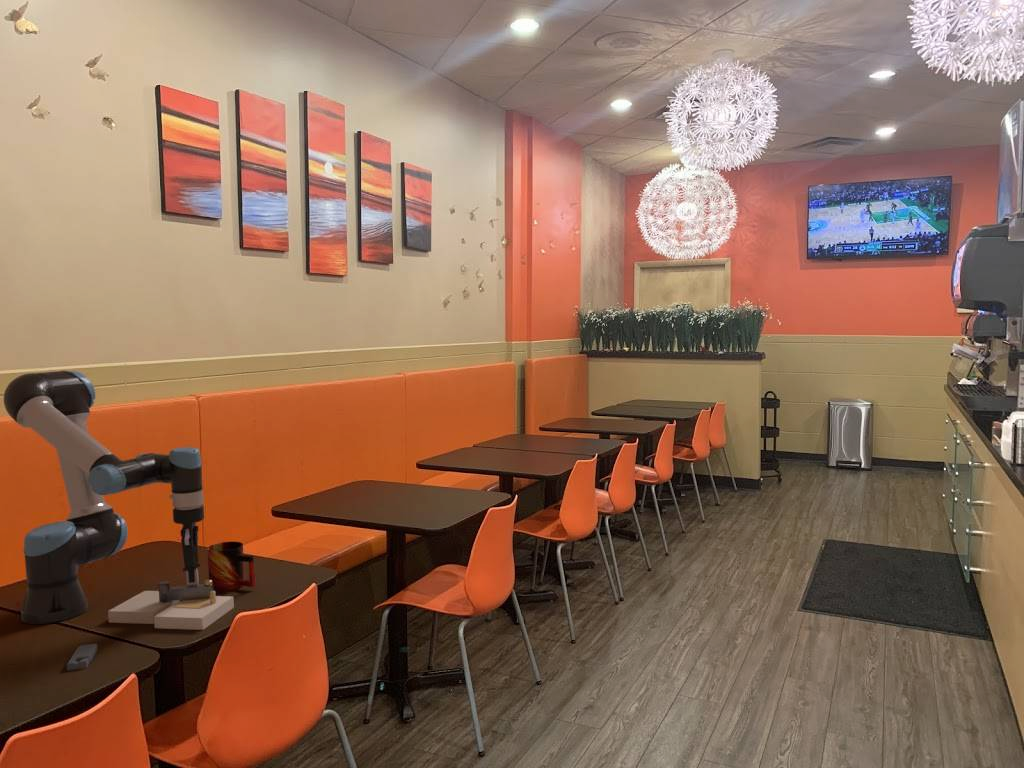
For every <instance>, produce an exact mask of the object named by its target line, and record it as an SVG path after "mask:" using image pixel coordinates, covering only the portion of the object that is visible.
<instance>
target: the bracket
mask: <svg viewBox="0 0 1024 768" xmlns="http://www.w3.org/2000/svg"><path fill="white" fill-rule="evenodd" d="M97 651H98V643H90V644H84V645H83V644H82V645H78V646H77V648H76V650H75V651H74V653H73V654H72V656H71V657H70V659H69V660H68V662H67V664H66V671H73V670H74V671H76V670H82V669H87V668H88V666H89V665H90V663H91V661H92V660H93V658H94V656H95V655H96V653H97Z"/></svg>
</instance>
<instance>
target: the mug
mask: <svg viewBox="0 0 1024 768" xmlns="http://www.w3.org/2000/svg"><path fill="white" fill-rule="evenodd" d="M206 549H207V551H206V553H207V565H208V566H207V569H208V579H211V580H212V583H213V586H214V591H215V593H218V594H220V593H221V594H222V593H229V592H235V591H238V590H240V588H241V589H242V587H243V588H244V587H248V588H249V587H250V588H254V587H256V577H255V576H256V575H255V564H254V562H255V561H254V560H255V559H254V555H249V554H244V543H242V542H241V541H223V542H217V543H214V544H210V545H209V546H207V548H206ZM244 562H246V563H248V572H249V573H248V574H249V575H248V576H249V579H245V576H246V574H245V563H244Z"/></svg>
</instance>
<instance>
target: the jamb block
mask: <svg viewBox="0 0 1024 768" xmlns="http://www.w3.org/2000/svg"><path fill="white" fill-rule="evenodd" d="M178 601H180V600H174V601H167V602H159V590H144V591H142V592H140V593H139V594H136V595H134V596H132V597H131V598H129V599H128V600H125V601H123V602H122V603H120V604H118V605H116V606H114V607H113V608H111V609H109V610H108V611H107V615H108V623H112V624H113V623H117V624H145V625H147V624H148V625H155V624H154V616H156V615H157V614H159V613H160V612H162V611H164V610H165V609H167V608H169V607H170V606H172V605H173V604H175V603H177V602H178Z"/></svg>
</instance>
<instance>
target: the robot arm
mask: <svg viewBox="0 0 1024 768" xmlns="http://www.w3.org/2000/svg"><path fill="white" fill-rule="evenodd" d="M95 399H96V390H95V387H94V384H93V382H92V381H91V380H90V379H89V378H88V376H86V375H85V374H83V373H82V372H80V371H76V370H61V371H59V370H58V371H48V372H36V373H35V372H33V373H32V372H31V373H25V374H22V375H21V374H20V375H19V376H17V377H15V378H14V379H12V381H11V382H10V383H8V385H7V386H6V388H5V390H4V394H3V404H4V408H5V410H6V412H7V413H8V416H10V417H11V419H12V420H14V422H16V423H17V424H18V425H19V426H21V427H23V428H29V429H32V430H33V432H35V433H36V434H37V435H39V436H40V437H42V439H43V440H45V441H46V442H47V443H48V444H50V445H51V446H52V447H53V448H54V449H55V450H56V454H57V457H58V462H59V466H60V470H61V474H62V479H63V483H64V487H65V491H66V496H67V500H68V505H69V508H70V513H69V514H68V515H67V516H66V519H65V520H66V521H65V520H64V521H55V522H52V523H46V524H43V525H40V526H38V527H37V526H36V528H33V529H31V530H30V531H29V532H27V533H26V535H25V536H24V539H23V550H22V551H23V554H24V563H25V564H24V565H25V577H26V593H25V596H24V600H23V604H22V608H21V609H20V615H21V616H20V618H21V622H23V623H25V624H28V625H29V624H30V625H43V624H52V623H57V622H60V621H64V620H65V621H66V620H68V619H71V618H74V617H77V616H79V615H81V614H83V613H84V612H86V611H87V610H88V608H89V605H88V598H87V597H86V596H85V593H84V591H83V588H82V586H81V583H80V581H79V571H78V570H79V567H81V566H85V565H87V564H91V563H93V562H96V561H99V560H103V559H107V558H109V557H110V556H113V555H115V554H118V553H119V552H120V551H121V550H123V548H124V545H125V544H126V543H127V540H128V535H129V534H128V533H129V532H128V525H127V522H126V520H125V519H124V518H122V515H120V514H119V513H116V512H114V507H113V506H112V505H109V504H108V503H106V500H105V496H107V495H115V494H119V493H121V492H125V491H128V490H129V491H130V490H132V489H136V488H141V487H145V486H148V485H152V484H170V485H171V494H170V495H169V499H170V500H171V499H172V507H173V509H172V521H173V523H175V524H177V525H182V527H181V529H180V537H181V539H180V542H181V546H182V555H183V563H184V565H183V566H184V567H183V569H182V571H183V572H185V573H186V574H185V575H186V585H198V584H200V583H199V568H200V567H201V563H199V543H198V540H199V536H198V534H199V525H197V523H198V522H202V521H203V520H204V519H205V511H204V510H205V509H204V506H203V504H204V489H203V476H202V470H203V469H202V468H203V467H202V465H203V464H202V463H203V462H202V458H201V452H200V449H199V448H197V447H193V446H189V447H186V446H185V447H184V446H183V447H175V448H172V449H171V450H170V451H169V454H160V453H159V454H158V453H154V452H149V453H140V454H138V455H137V456H136V457H134V458H131V459H126V460H124V459H123V460H122V459H121V458H119V457H118V456H117V455H115V454H114V453H113V452H112V451H110V449H108V448H106V447H105V446H104V445H103V444H102V443H100V442H99V441H97V440H96V439H95V438H94V437H92V435H90V433H89V430H88V429H89V428H88V424H87V419H88V418H89V417H90V415H91V412H90V409H91V408H92V407H93V405H94V404H95Z"/></svg>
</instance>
